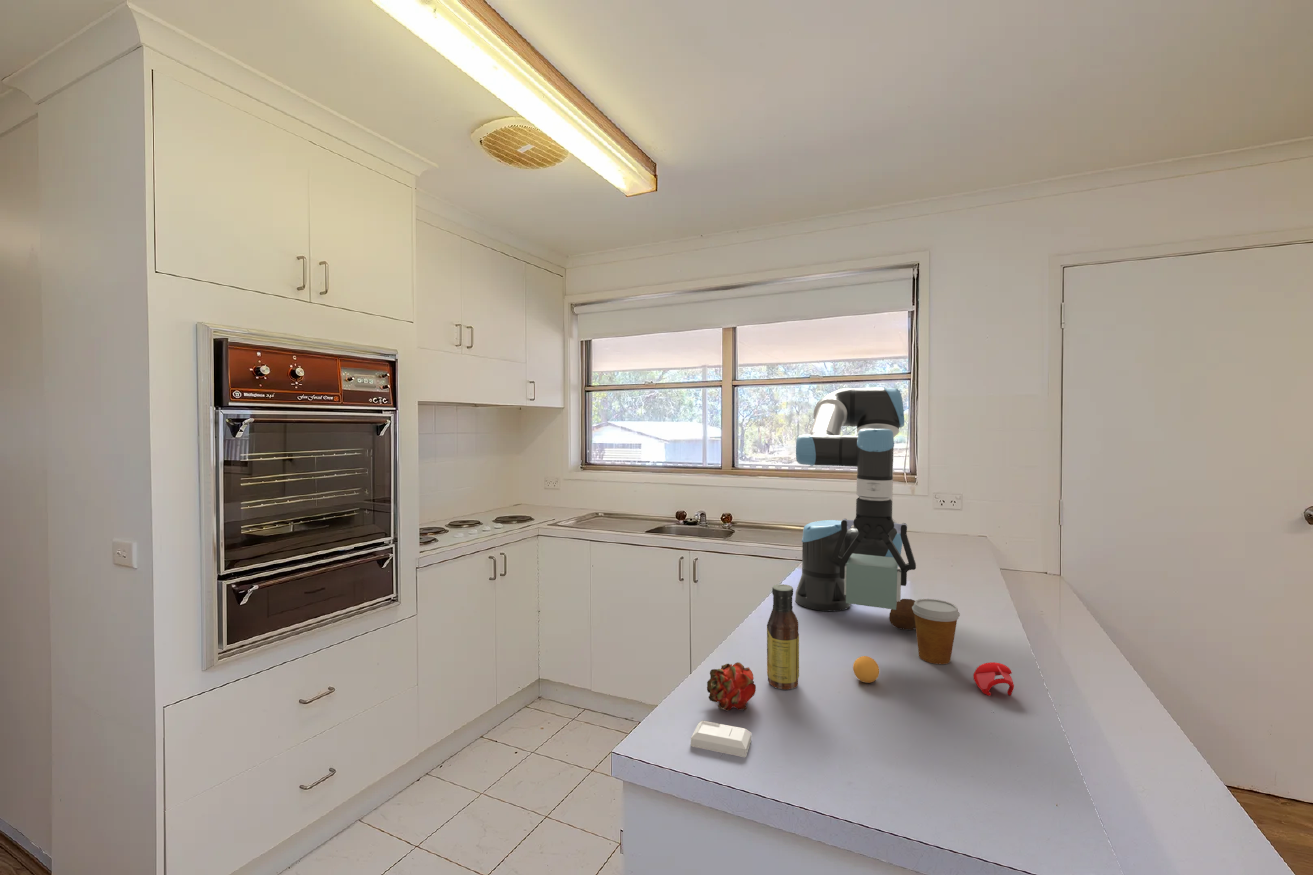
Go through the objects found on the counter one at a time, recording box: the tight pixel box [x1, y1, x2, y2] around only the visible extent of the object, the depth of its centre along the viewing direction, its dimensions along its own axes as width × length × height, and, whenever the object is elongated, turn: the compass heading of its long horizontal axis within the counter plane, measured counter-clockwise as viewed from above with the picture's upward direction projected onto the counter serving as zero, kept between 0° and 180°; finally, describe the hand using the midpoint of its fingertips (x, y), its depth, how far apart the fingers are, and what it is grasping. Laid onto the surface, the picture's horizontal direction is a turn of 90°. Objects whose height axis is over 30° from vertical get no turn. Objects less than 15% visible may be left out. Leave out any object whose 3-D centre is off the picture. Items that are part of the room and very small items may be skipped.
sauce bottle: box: [766, 584, 800, 691], centre depth 114 cm, size 7×6×20 cm
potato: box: [888, 598, 916, 631], centre depth 143 cm, size 7×10×8 cm
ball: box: [852, 655, 880, 684], centre depth 116 cm, size 5×5×5 cm
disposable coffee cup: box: [912, 598, 961, 665], centre depth 127 cm, size 10×10×12 cm
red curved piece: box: [972, 662, 1015, 697], centre depth 112 cm, size 8×6×6 cm
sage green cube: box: [846, 553, 899, 610], centre depth 128 cm, size 10×10×9 cm
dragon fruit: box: [706, 661, 757, 712], centre depth 106 cm, size 8×8×12 cm
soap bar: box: [690, 720, 752, 758], centre depth 94 cm, size 5×9×3 cm, turn 70°
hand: (872, 596), depth 129 cm, fingers closed on sage green cube, 10 cm apart
